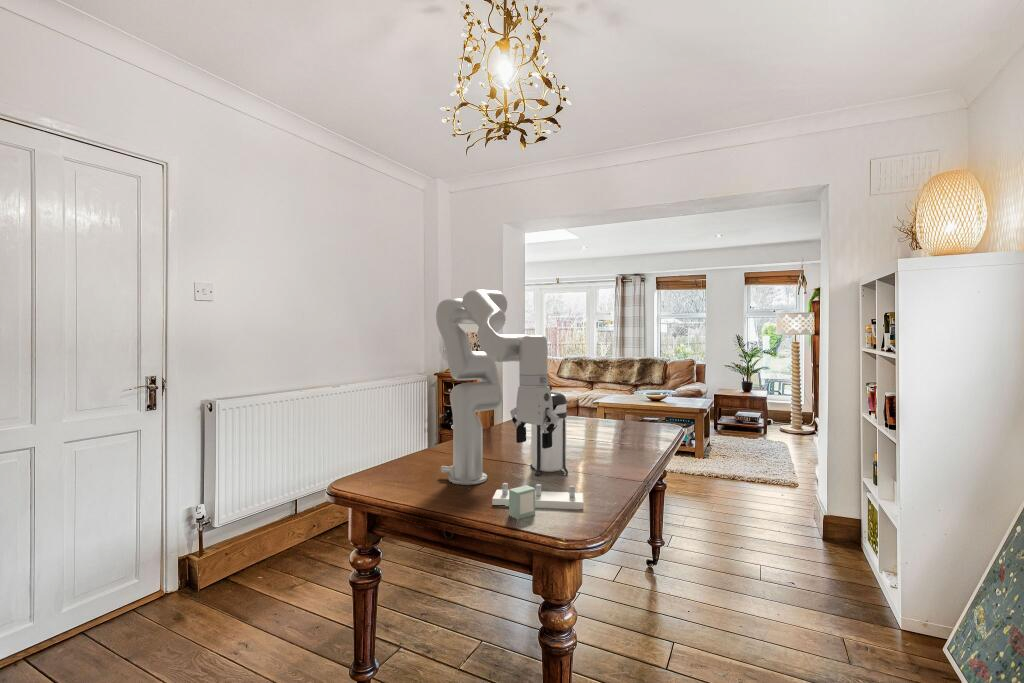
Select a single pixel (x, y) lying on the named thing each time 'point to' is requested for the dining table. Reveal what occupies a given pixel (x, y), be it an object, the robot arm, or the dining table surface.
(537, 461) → the coffee press
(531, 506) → the tall sage green block
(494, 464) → the dining table surface
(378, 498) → the dining table surface
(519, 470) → the dining table surface
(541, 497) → the white peg board
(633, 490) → the dining table surface
